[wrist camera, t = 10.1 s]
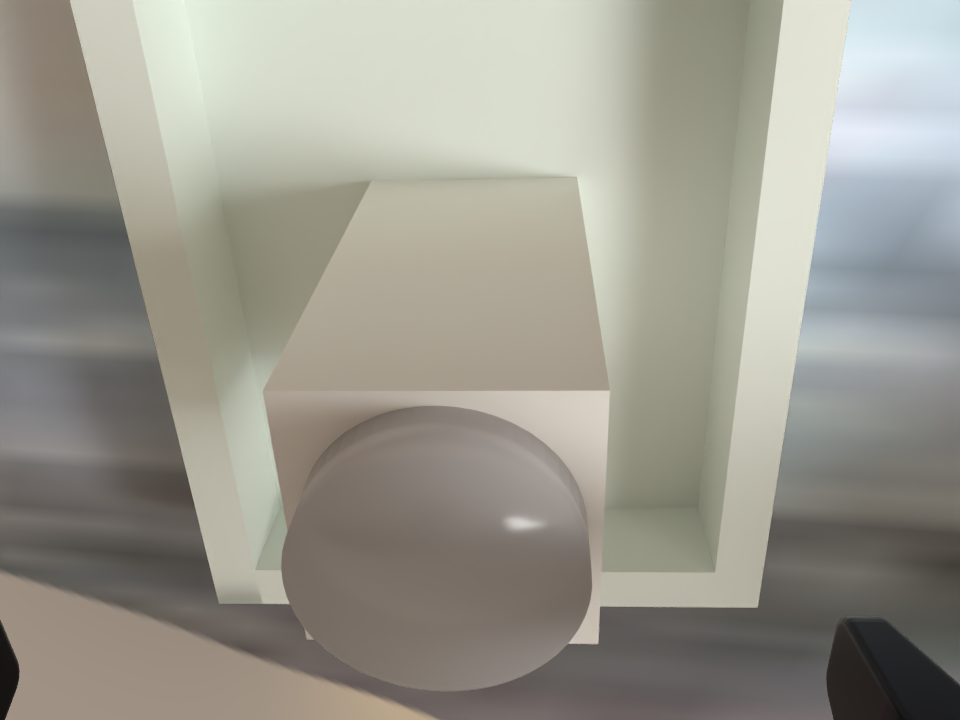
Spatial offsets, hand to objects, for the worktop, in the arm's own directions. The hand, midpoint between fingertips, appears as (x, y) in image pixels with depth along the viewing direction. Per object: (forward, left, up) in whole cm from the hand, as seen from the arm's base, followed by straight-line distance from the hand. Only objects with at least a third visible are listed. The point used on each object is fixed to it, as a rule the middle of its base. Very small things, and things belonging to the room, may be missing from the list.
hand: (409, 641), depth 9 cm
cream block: (0, 0, -10) cm, 10 cm away
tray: (0, 0, -11) cm, 11 cm away
